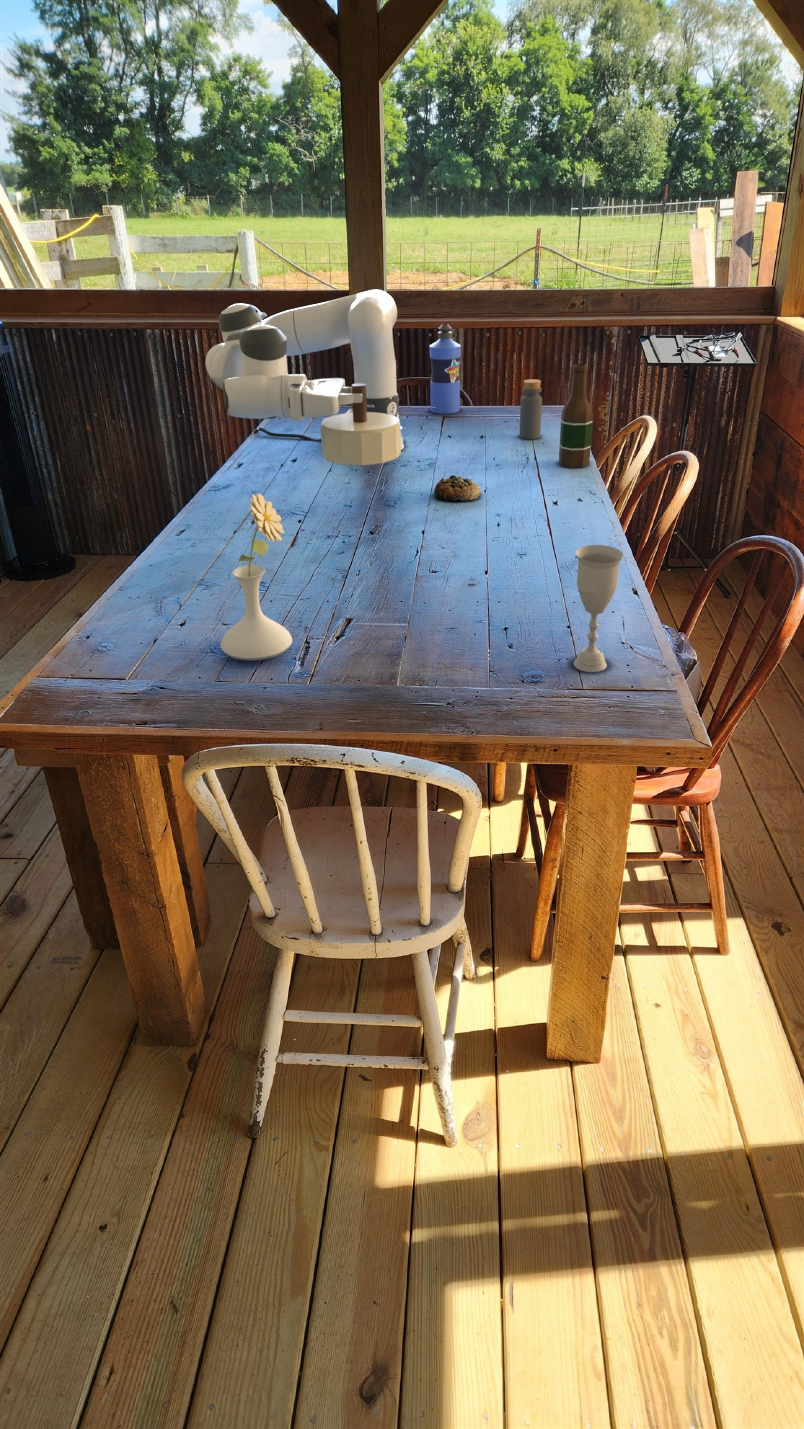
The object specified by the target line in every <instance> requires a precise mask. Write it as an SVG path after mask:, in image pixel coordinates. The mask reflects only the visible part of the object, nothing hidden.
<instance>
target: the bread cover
mask: <svg viewBox="0 0 804 1429" xmlns="http://www.w3.org/2000/svg"><path fill="white" fill-rule="evenodd" d="M351 387H352V393H362V394H363V401H362V402H361V403H352V405H353V413H346V412H345V413H338V414H335V415H332V416H327V417H326V418H324V419H322V421H321V425H320V439H321V442H320V443H321V455H322V457H323V459H325V461H326V462H328V463H329V462H330V463H333V464H338V465H341V466H370V465H379V464H385V463H388V462H390V461H393V460H397V459H398V458H399V456H400V455H401V454H402V450H401V435H402V432H401V433H400V426H401V422H400V423H399V421H400V418H399V419H398V418H397V417H395V416H393V415H389V414H384V413H376V412H367V402H366V384H363V383H357V384H355V383H352V384H351Z"/></svg>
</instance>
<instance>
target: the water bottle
mask: <svg viewBox="0 0 804 1429" xmlns="http://www.w3.org/2000/svg"><path fill="white" fill-rule="evenodd" d="M438 329H439V331H438V332H437V338H438V339H437V340H436V341H435V342H433V343H432V344H429V358H430V359H429V360H430V368H431V375H430V412H431V413H434V414H440V415H443V414H444V415H446V414H447V415H448V414H455V413H458V412H460V411H461V380H460V379H461V378H460V372H459V369H460V360H461V355H462V350H461V347H462V346H461V344H460V343H458V342H456V341H454V340H453V339H452V338H453V331H451V330H452V327H451V325H450V324H448V323H442V324H441V325H440V326H439V327H438ZM431 407H436V408H431Z"/></svg>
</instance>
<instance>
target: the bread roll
mask: <svg viewBox="0 0 804 1429" xmlns="http://www.w3.org/2000/svg"><path fill="white" fill-rule="evenodd" d="M481 491H482V489H481V487H480V486H479V485H478V483H477V482H474V481H473V480H471V479H469V478H463V477H462V476H460V475H459V476H457V475H453V474H452V475H450V476H449V477H448V478H446V479H445V478H444V477H442V478H441V479H439V481H438V482H437V483H436V484H435V486H434V494H435V498H436V499H439V500H443V501H444V500H445V501H451V502H454V501H455V502H456V501H458V500H460V501H462V502H463V501H472V500H476V499H478V498H479V497H480V494H481V493H482V492H481Z"/></svg>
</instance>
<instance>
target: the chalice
mask: <svg viewBox="0 0 804 1429" xmlns="http://www.w3.org/2000/svg"><path fill="white" fill-rule="evenodd" d="M575 555H576V557H577V561H578V562H577V574H576V586H577V590H578V593H579V598H580V600H581V603H582V605H583V608H584V610H585V611H586V612H587V613H588V614H590V617H591V618H590V619H589V620H590V621H589V622H588V623H587V625H588V627H589V632H588V633H587V634H586V637H587V638H588V644H587V646H585V647H583V648H582V649H580V650H579V652H578V654H577V656H576V659H575V660H574V661H573V666H574V668H576V669H577V670H579V671H581V672H582V671H583V672H586V673H598V672H601V671H602V672H603V671H604V670H605V669H607V667H608V665H607V662H606V659H605V656H604V653H603V652H602V650H601V649H600V648H598V647H597V646H596V640H597V639H598V638H599V635H598V634H597V629H598V627H599V623H598V616H599V615H600V614H603V613H604V612H605V610H606V609H607V607H608V606H609V604H610V602H611V601H612V599H613V597H614V594H615V592H616V590H617V588H618V582H619V572H620V563H621V561H622V560H623V558H624V555H625V554H624V553H623V552H622V550H620V549H618V548H616V547H613V546H611V545H603V544H589V545H584V546H581V547H579V548H577V549H576V551H575Z"/></svg>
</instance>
